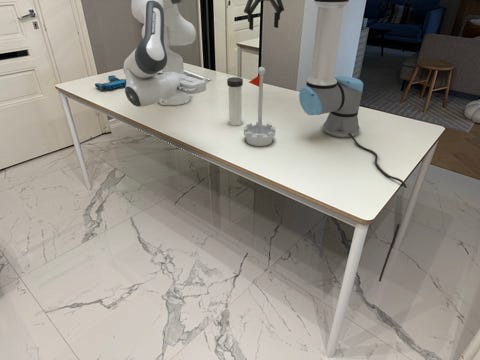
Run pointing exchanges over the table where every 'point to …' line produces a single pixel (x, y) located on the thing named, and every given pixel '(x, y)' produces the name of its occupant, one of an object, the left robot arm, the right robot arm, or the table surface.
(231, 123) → the jar
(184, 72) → the tablet
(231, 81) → the lid
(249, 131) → the flag stand
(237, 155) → the table surface
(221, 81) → the table surface
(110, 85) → the submachine gun
